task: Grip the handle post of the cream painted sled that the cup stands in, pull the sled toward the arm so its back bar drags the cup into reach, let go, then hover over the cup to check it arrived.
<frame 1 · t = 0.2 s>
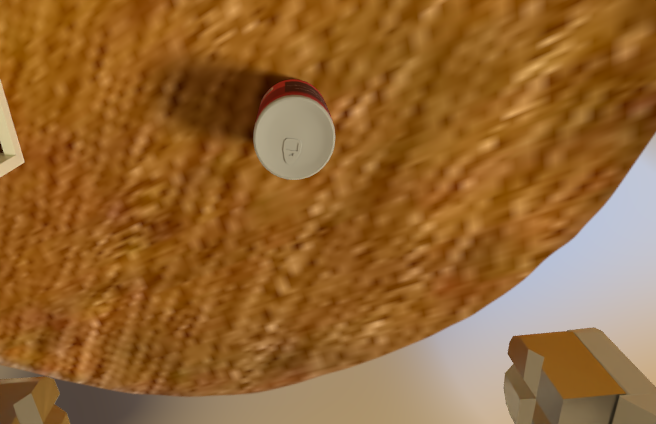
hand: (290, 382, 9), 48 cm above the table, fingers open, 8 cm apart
canned food: (292, 113, 55), on the table
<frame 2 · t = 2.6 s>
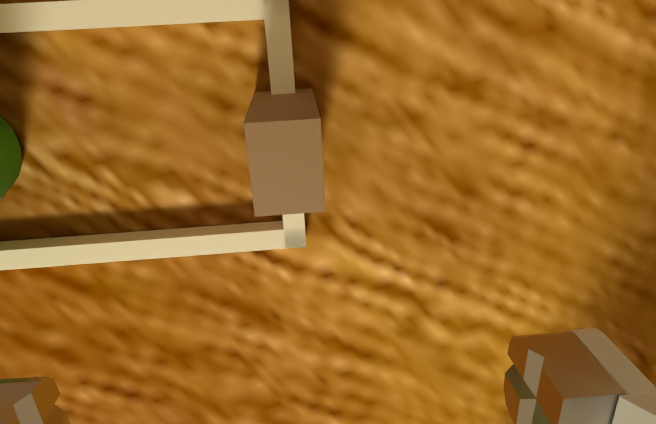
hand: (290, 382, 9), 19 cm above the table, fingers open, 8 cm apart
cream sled: (49, 161, 22), point 3 cm above the table, slide at 0.0 cm
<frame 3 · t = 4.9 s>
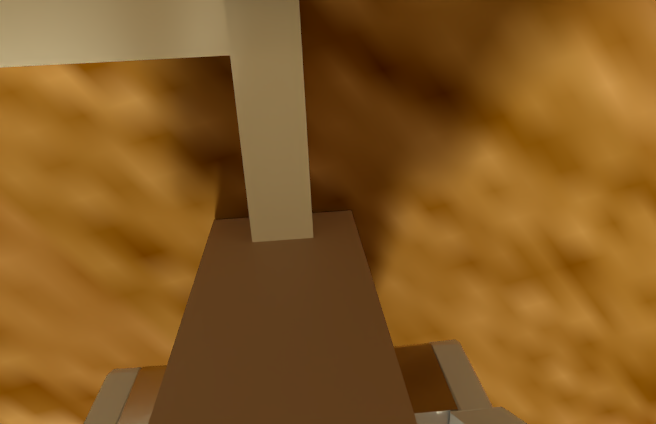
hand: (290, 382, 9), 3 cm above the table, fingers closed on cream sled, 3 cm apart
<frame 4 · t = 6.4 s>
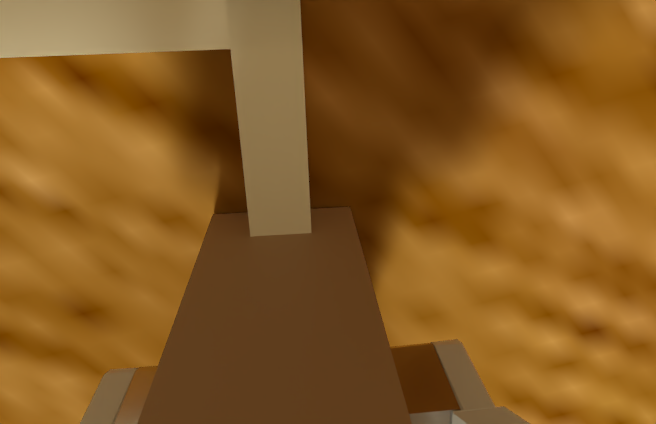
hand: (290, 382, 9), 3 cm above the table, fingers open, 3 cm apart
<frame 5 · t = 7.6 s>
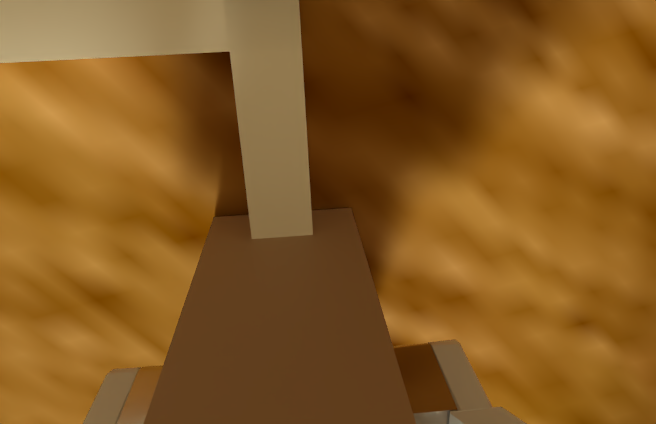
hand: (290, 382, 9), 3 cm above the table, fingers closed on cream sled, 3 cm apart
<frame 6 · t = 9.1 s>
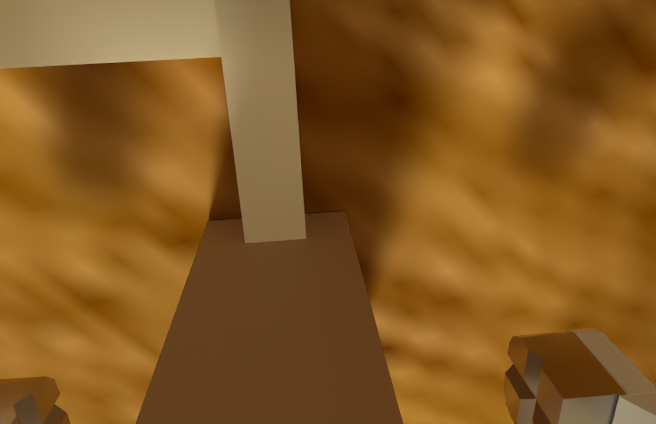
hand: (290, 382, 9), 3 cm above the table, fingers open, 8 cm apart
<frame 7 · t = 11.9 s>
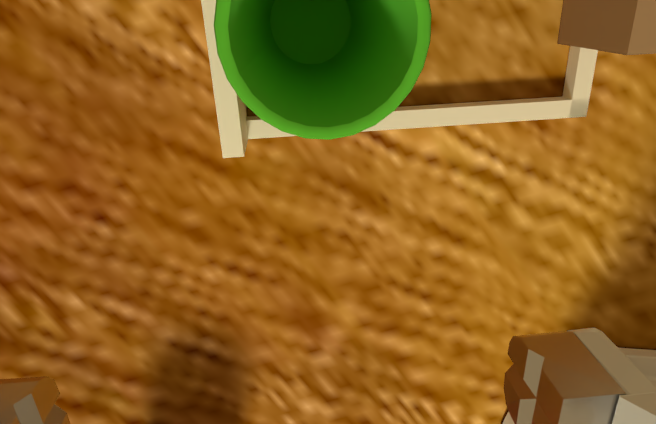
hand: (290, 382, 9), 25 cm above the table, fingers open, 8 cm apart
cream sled: (433, 20, 27), point 3 cm above the table, slide at 11.3 cm
cup: (309, 21, 30), resting in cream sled
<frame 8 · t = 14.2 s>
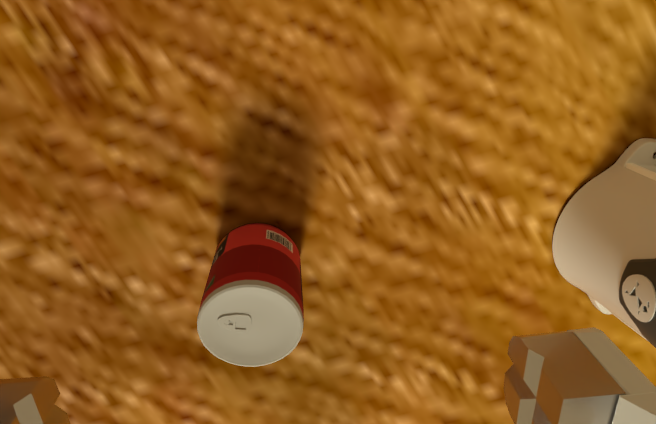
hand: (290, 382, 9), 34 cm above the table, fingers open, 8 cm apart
canned food: (258, 255, 46), on the table
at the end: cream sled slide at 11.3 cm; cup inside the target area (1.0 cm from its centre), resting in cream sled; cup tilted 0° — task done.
